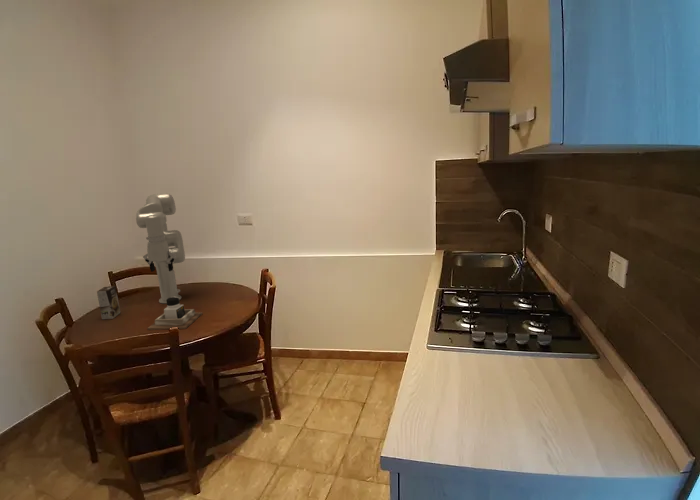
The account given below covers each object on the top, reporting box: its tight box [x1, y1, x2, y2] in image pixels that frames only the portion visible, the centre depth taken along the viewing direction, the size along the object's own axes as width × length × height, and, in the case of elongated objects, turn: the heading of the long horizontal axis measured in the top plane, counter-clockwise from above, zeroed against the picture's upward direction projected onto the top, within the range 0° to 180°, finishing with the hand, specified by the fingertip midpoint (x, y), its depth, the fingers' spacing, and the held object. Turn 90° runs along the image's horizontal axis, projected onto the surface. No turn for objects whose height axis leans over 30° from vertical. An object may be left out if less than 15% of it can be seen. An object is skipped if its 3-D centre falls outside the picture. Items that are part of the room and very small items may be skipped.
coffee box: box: [96, 285, 121, 320], centre depth 239 cm, size 9×6×16 cm
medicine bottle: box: [163, 297, 185, 319], centre depth 225 cm, size 7×7×12 cm
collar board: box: [147, 308, 203, 331], centre depth 226 cm, size 20×20×4 cm
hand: (162, 270), depth 227 cm, fingers open, 9 cm apart
